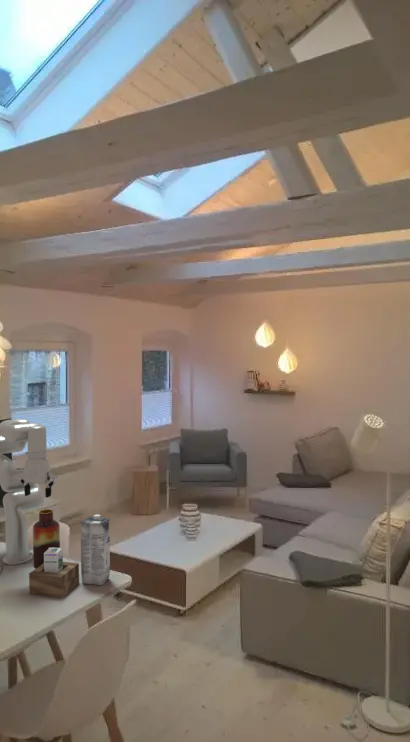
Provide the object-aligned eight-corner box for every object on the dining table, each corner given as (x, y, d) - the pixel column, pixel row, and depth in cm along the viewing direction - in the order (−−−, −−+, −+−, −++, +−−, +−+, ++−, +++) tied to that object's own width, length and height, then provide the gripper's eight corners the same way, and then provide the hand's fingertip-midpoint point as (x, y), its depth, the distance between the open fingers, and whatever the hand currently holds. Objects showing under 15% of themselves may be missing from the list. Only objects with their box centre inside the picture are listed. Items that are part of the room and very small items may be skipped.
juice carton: (102, 587, 219) (101, 520, 218) (79, 584, 222) (78, 518, 221) (112, 578, 228) (111, 514, 227) (89, 575, 231) (88, 512, 230)
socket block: (48, 579, 228) (48, 560, 227) (79, 582, 224) (78, 563, 224) (29, 593, 214) (29, 573, 214) (61, 597, 210) (61, 577, 210)
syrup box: (58, 588, 216) (58, 552, 215) (44, 588, 216) (43, 552, 216) (63, 582, 221) (63, 547, 221) (49, 582, 222) (48, 547, 221)
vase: (28, 575, 232) (27, 514, 231) (42, 565, 242) (41, 506, 241) (52, 577, 229) (51, 515, 228) (65, 567, 240) (64, 508, 239)
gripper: (13, 456, 227) (14, 496, 227) (50, 457, 222) (51, 499, 223) (24, 452, 234) (24, 492, 234) (60, 454, 229) (61, 495, 230)
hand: (37, 495), depth 229 cm, fingers open, 9 cm apart
